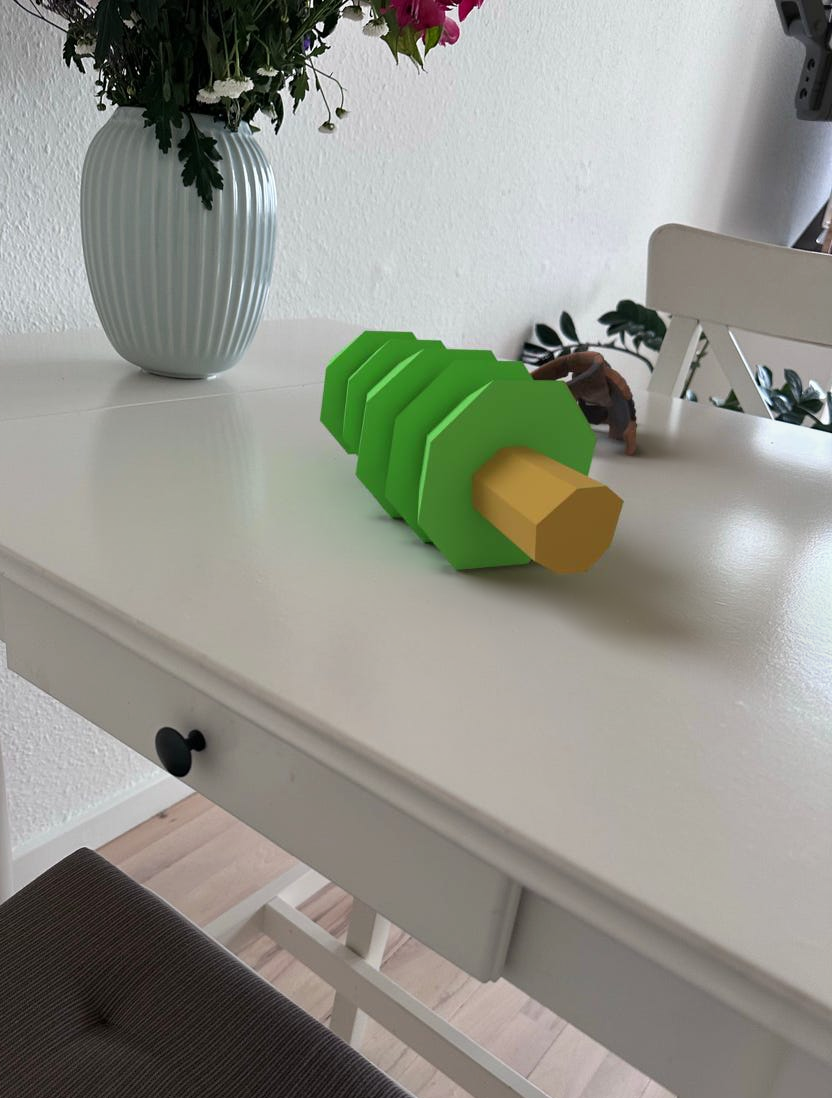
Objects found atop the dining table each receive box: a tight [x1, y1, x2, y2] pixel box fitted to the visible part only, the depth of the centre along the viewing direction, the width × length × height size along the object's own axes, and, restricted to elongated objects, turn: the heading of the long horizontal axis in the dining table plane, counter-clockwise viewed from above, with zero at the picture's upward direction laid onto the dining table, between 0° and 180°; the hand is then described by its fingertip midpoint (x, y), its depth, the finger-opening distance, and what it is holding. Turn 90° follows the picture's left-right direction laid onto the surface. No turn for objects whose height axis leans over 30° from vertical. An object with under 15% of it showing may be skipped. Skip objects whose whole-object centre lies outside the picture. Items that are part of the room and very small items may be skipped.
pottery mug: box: [529, 350, 638, 456], centre depth 80 cm, size 12×10×8 cm
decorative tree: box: [319, 330, 625, 575], centre depth 57 cm, size 11×12×30 cm
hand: (815, 120), depth 62 cm, fingers closed
